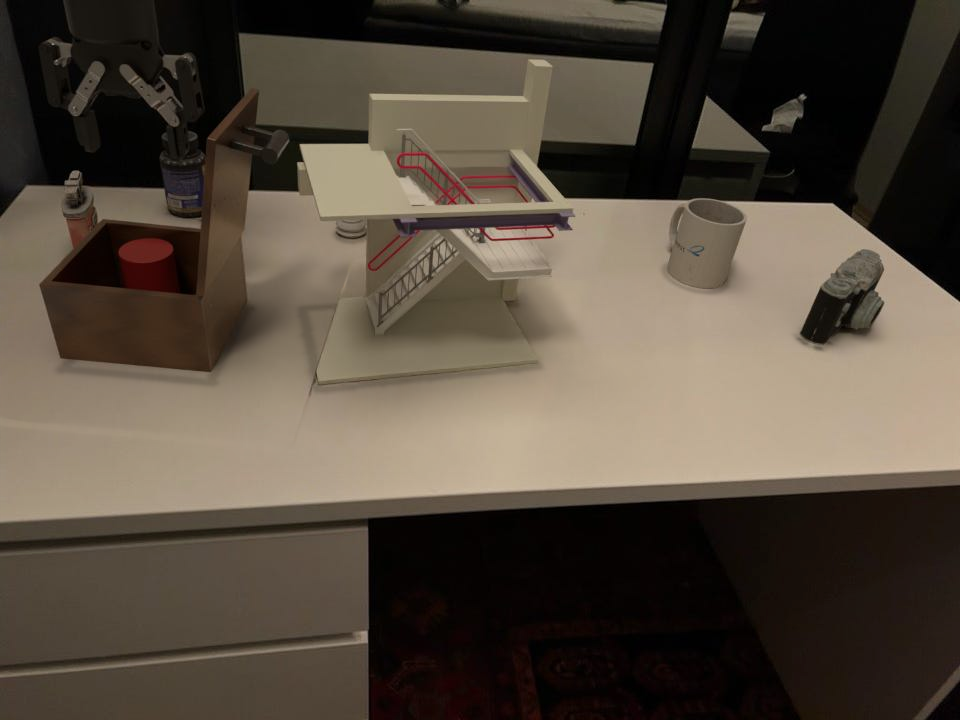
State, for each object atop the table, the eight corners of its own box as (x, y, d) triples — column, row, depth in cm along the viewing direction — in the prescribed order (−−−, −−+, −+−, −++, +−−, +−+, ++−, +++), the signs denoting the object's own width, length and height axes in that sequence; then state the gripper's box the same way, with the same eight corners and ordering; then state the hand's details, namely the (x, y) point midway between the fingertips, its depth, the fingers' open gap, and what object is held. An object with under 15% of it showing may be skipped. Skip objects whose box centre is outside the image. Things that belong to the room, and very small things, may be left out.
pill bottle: (217, 214, 108) (209, 141, 102) (174, 221, 105) (163, 146, 99) (203, 197, 112) (194, 126, 106) (162, 204, 109) (150, 130, 103)
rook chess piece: (350, 222, 111) (350, 171, 106) (372, 232, 109) (373, 181, 104) (329, 231, 108) (328, 180, 103) (351, 242, 106) (351, 190, 101)
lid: (206, 137, 63) (267, 154, 64) (251, 87, 75) (302, 101, 76) (195, 295, 72) (249, 307, 73) (237, 228, 84) (282, 239, 85)
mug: (735, 288, 107) (757, 225, 101) (680, 288, 105) (700, 225, 99) (699, 247, 117) (718, 188, 111) (649, 247, 115) (665, 187, 109)
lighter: (100, 266, 94) (84, 193, 88) (70, 268, 93) (52, 194, 87) (106, 237, 100) (91, 166, 94) (79, 238, 99) (61, 166, 93)
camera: (844, 358, 95) (877, 292, 89) (794, 335, 98) (823, 269, 92) (881, 318, 104) (913, 256, 98) (835, 298, 108) (863, 237, 102)
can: (122, 321, 84) (109, 259, 79) (141, 295, 88) (130, 235, 83) (173, 326, 84) (162, 265, 79) (189, 300, 88) (180, 240, 84)
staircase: (321, 397, 78) (313, 114, 60) (302, 304, 92) (291, 51, 74) (559, 372, 86) (615, 116, 68) (509, 290, 100) (544, 60, 82)
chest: (61, 364, 78) (38, 284, 72) (118, 292, 90) (102, 218, 84) (211, 377, 79) (200, 299, 73) (248, 304, 90) (241, 232, 85)
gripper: (1, -23, 63) (47, 160, 72) (172, -3, 63) (195, 176, 73) (44, -37, 69) (81, 134, 78) (199, -18, 69) (217, 148, 79)
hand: (136, 154), depth 76 cm, fingers open, 8 cm apart
